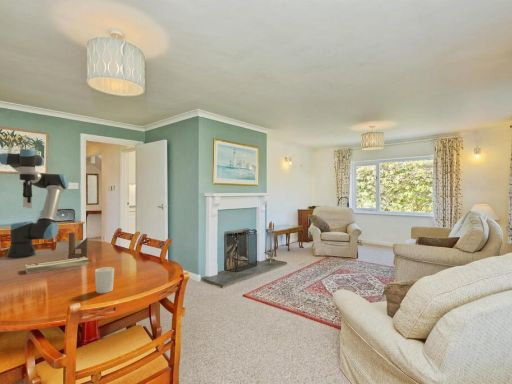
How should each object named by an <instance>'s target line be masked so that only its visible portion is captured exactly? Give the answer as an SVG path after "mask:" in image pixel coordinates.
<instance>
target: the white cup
mask: <svg viewBox="0 0 512 384" xmlns="http://www.w3.org/2000/svg"><path fill="white" fill-rule="evenodd" d="M94 279H95V280H94V281H95V289H96V290H95V291H96V293H97V294H107V293H110V292H112V291H114V290H113V289H114V280H115V267H111V266H105V267H104V266H103V267H99V268H96V269H95V270H94Z"/></svg>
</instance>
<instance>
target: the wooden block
mask: <svg viewBox="0 0 512 384" xmlns="http://www.w3.org/2000/svg"><path fill="white" fill-rule="evenodd" d="M88 241H89V240H88V237H86V238H85V239H84V240H82V242H81V243H79V244H78V245H77V246H76V232H74V231H73V232H72V231H71V232H69V233H68V255H67V259H71V258H77V257H86V258H87V259H89V258H88V253H89V251H88V249H89V247H88V244H89V243H88ZM76 250H80V253H76Z"/></svg>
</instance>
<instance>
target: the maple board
mask: <svg viewBox="0 0 512 384" xmlns="http://www.w3.org/2000/svg"><path fill="white" fill-rule="evenodd" d="M89 264H90V259H89V258H86V257H77V258H71V259H68V258H65V259H57V260H50V261H45V262H44V261H43V262H37V263H35V262H34V263H28V264H24V272H25V273H26V274H27V275H29V274H34V273H35V274H36V273H42V272H47V271H48V272H49V271H55V270H60V269H61V270H62V269H67V268H73V267H80V266H87V265H89Z"/></svg>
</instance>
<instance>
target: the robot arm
mask: <svg viewBox="0 0 512 384" xmlns="http://www.w3.org/2000/svg"><path fill="white" fill-rule="evenodd" d="M44 163H45V159H44V157H43V156H41V155H39V154H36V150H35V149H31V148H30V149H29V148H21V149H20V150H19V153H9V152H6V153H5V152H3V153H0V164H1V165H4V166H10V167H11V168H12V169H14V170H15V171H16V173H19V180H20V181H23V182H22V207H23V208H26V209H32V208H33V206H32V205H33V188H32V187H33V186H34V187H37V188H39V189H46V191H47V193H46V197H45V200H44V204H43V208H42V212H41V216H40V218H38V219H37V220H36V222H33V220H28V221H20V222H15V223H11V224H10V245H9V248H8V251H7V252H6V256H7V258H21V257H22V258H23V257H30V256H32V255H35V254H36V248H35V247H34V245H33V241H34V240H35V241H36V240H52V239H54V238H56V237H57V236H58V233H59V230H60V225H59V223H58V221H57V220H56V216H57V212H58V208H59V204H60V199H61V195H62V194H63V193H64V192H65V190H67V189H68V188H69V184H70V183H69V178H68V176H67V175H66V174H63V173H40V172H38V171H36V167H41V166H43V165H44Z"/></svg>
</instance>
